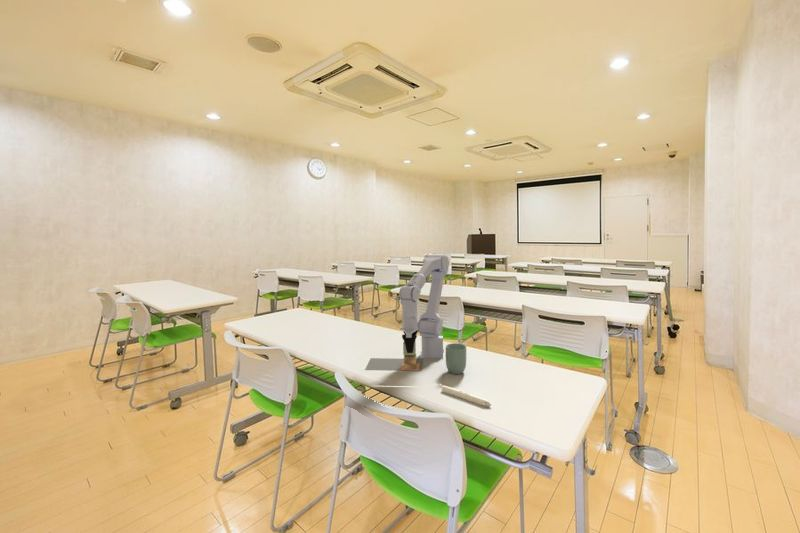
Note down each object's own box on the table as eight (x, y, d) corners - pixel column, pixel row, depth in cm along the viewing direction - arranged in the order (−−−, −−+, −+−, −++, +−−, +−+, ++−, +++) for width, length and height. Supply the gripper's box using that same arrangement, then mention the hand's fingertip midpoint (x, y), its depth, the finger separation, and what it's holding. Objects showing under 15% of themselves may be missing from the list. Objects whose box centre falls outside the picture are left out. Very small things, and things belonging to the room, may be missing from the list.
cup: (467, 369, 138) (467, 344, 138) (465, 377, 131) (465, 350, 130) (447, 367, 140) (447, 342, 140) (444, 375, 133) (444, 349, 132)
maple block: (416, 364, 143) (416, 353, 142) (415, 368, 138) (415, 357, 138) (405, 364, 143) (404, 353, 143) (404, 368, 139) (403, 357, 138)
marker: (493, 407, 109) (493, 399, 108) (489, 409, 107) (489, 402, 107) (445, 390, 121) (445, 383, 121) (441, 392, 119) (441, 385, 119)
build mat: (422, 360, 149) (422, 358, 149) (421, 372, 136) (421, 370, 136) (370, 359, 151) (370, 358, 151) (364, 371, 139) (364, 369, 139)
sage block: (415, 351, 142) (415, 340, 142) (415, 355, 138) (414, 343, 137) (404, 351, 143) (404, 340, 142) (403, 355, 138) (403, 343, 138)
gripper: (401, 312, 147) (401, 344, 148) (397, 320, 132) (398, 356, 133) (418, 312, 146) (418, 344, 147) (416, 321, 132) (417, 357, 133)
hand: (410, 350), depth 140 cm, fingers closed on sage block, 4 cm apart
